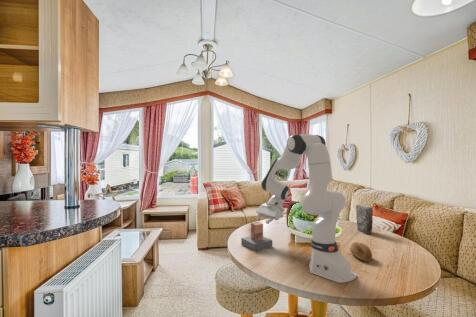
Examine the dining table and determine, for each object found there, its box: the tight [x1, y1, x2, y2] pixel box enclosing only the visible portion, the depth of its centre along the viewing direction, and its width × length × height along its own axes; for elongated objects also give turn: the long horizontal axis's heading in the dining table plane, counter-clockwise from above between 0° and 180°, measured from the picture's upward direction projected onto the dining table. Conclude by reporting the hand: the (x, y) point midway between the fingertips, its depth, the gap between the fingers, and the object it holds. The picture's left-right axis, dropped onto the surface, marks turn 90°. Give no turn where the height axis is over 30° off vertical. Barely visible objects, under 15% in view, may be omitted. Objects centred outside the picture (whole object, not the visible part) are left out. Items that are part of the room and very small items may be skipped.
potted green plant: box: [285, 200, 300, 227], centre depth 207 cm, size 11×8×20 cm
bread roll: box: [349, 242, 373, 262], centre depth 142 cm, size 10×15×8 cm, turn 2°
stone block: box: [355, 204, 374, 236], centre depth 191 cm, size 13×7×20 cm, turn 11°
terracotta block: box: [250, 221, 264, 241], centre depth 161 cm, size 6×6×10 cm
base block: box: [240, 235, 273, 252], centre depth 161 cm, size 14×14×4 cm
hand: (262, 221), depth 164 cm, fingers open, 8 cm apart
